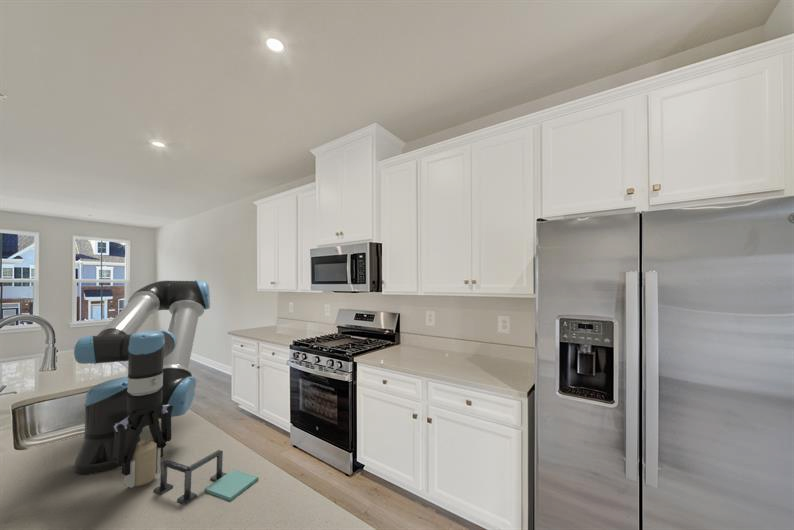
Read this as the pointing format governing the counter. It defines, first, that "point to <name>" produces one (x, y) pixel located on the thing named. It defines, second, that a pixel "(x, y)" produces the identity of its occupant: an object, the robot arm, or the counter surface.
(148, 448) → the candle
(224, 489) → the pad
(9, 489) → the counter surface
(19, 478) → the counter surface
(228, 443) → the counter surface
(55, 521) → the counter surface
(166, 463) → the handrail
